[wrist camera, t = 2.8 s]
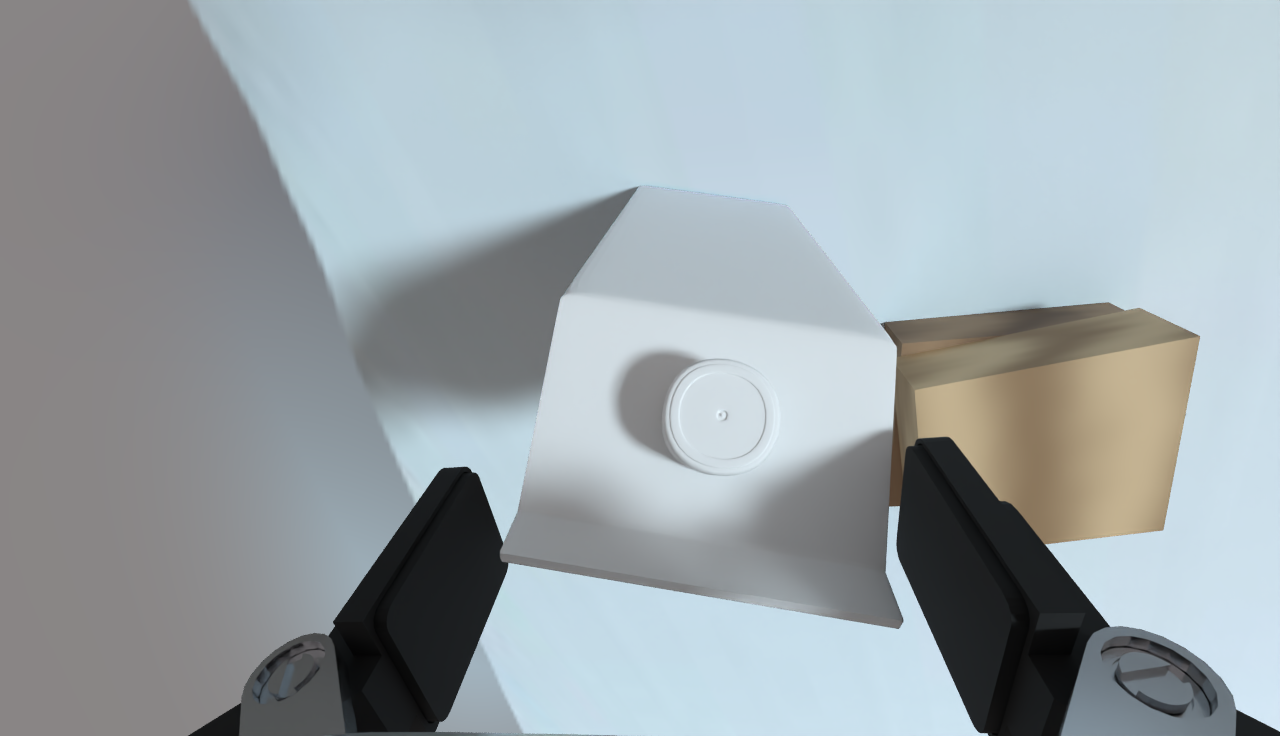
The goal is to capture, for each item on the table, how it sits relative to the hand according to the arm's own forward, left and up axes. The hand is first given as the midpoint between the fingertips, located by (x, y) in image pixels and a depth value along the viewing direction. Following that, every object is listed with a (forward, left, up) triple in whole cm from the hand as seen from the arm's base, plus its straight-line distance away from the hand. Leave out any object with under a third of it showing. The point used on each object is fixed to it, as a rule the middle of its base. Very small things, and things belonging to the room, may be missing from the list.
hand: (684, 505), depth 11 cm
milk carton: (0, 0, -17) cm, 17 cm away
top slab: (-15, +9, -14) cm, 22 cm away
